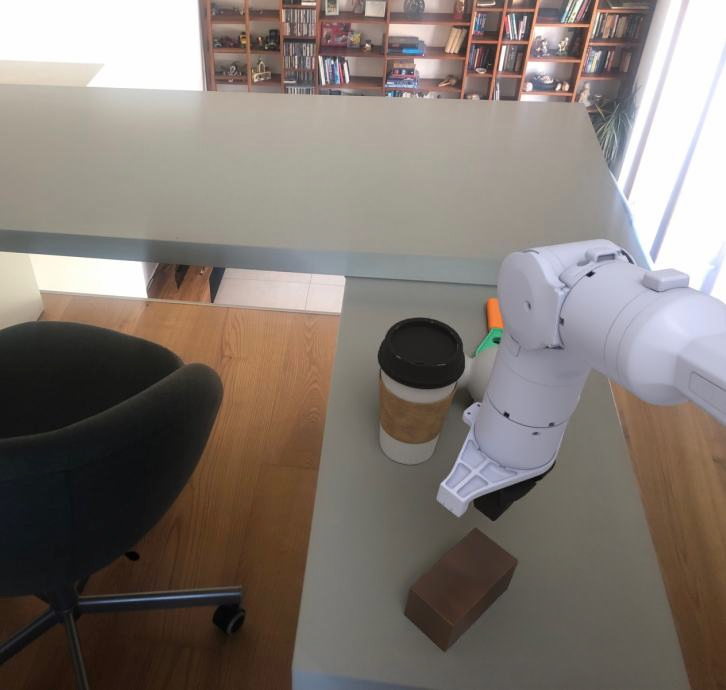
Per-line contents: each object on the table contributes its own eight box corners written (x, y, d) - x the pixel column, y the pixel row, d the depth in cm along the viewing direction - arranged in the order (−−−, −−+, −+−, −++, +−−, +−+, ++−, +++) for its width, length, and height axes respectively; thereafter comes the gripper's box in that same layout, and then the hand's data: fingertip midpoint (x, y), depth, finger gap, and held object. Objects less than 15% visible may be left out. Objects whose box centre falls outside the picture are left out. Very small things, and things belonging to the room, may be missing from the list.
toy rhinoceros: (425, 372, 84) (435, 317, 78) (528, 397, 80) (546, 341, 75) (412, 413, 79) (421, 357, 73) (521, 441, 75) (539, 384, 70)
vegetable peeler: (527, 388, 82) (530, 377, 80) (474, 382, 82) (477, 372, 81) (515, 310, 93) (518, 300, 92) (469, 306, 94) (471, 295, 93)
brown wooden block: (519, 560, 59) (453, 626, 55) (508, 587, 62) (444, 652, 58) (475, 526, 62) (409, 587, 58) (467, 554, 65) (403, 614, 61)
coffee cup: (361, 464, 73) (372, 359, 64) (375, 409, 79) (387, 305, 70) (441, 482, 71) (466, 376, 62) (450, 424, 77) (473, 319, 68)
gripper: (539, 320, 53) (500, 434, 62) (414, 416, 46) (391, 528, 55) (626, 369, 49) (570, 483, 58) (504, 482, 42) (463, 590, 51)
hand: (488, 509), depth 56 cm, fingers closed
